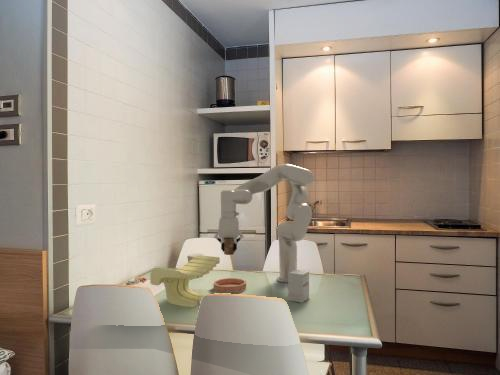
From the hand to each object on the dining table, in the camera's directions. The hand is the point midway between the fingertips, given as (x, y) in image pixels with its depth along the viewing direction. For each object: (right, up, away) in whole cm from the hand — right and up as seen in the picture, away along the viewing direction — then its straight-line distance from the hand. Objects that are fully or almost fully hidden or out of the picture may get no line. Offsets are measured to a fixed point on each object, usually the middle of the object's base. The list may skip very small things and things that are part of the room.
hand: (229, 250), depth 200 cm
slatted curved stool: (-18, -20, -16) cm, 32 cm away
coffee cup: (-20, -19, +29) cm, 40 cm away
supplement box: (+33, -20, -18) cm, 42 cm away
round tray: (0, -19, +1) cm, 19 cm away
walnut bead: (0, -2, 0) cm, 2 cm away
